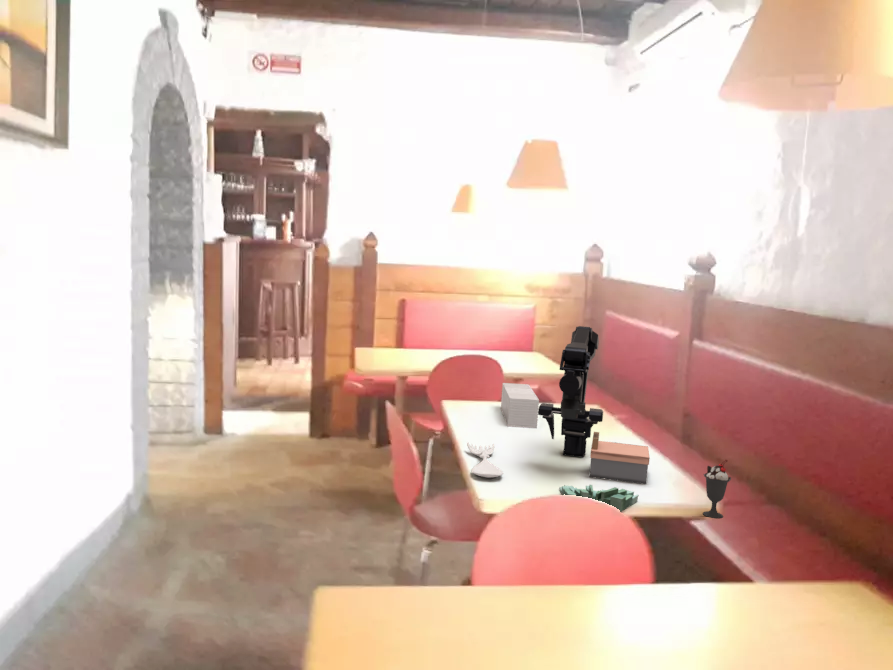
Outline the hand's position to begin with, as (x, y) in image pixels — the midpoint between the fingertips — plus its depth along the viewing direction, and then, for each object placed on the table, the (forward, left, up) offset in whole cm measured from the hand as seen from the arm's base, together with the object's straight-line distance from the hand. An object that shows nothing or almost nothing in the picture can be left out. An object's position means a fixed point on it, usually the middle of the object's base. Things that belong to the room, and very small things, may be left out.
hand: (568, 440), depth 232 cm
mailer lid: (+15, 0, -3) cm, 15 cm away
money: (+11, -27, -9) cm, 31 cm away
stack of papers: (-23, +64, -9) cm, 68 cm away
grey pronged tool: (-24, -8, -9) cm, 26 cm away
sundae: (+39, -27, -9) cm, 48 cm away
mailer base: (+15, 0, -8) cm, 17 cm away
